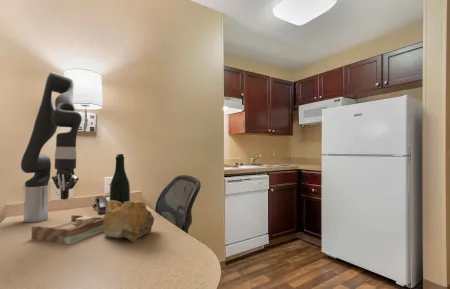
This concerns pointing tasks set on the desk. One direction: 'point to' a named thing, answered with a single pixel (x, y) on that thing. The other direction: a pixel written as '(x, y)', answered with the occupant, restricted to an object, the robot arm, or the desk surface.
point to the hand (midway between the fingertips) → (64, 199)
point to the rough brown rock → (127, 220)
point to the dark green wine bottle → (120, 182)
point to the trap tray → (68, 231)
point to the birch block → (84, 220)
